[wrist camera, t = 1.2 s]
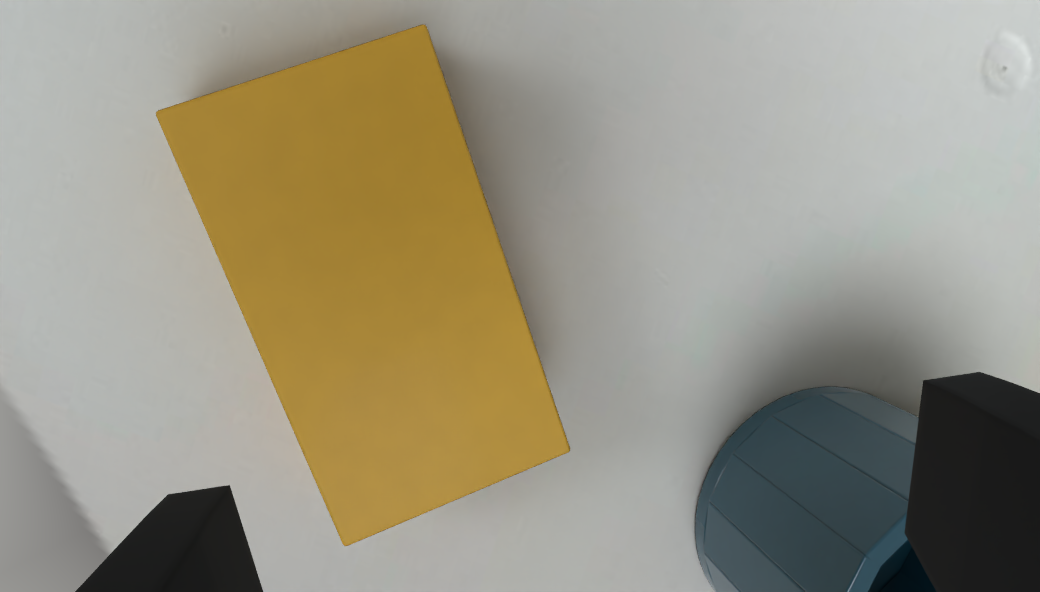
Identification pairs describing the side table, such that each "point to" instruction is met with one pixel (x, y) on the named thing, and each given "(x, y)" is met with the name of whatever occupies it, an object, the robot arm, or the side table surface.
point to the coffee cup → (812, 499)
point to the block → (370, 278)
